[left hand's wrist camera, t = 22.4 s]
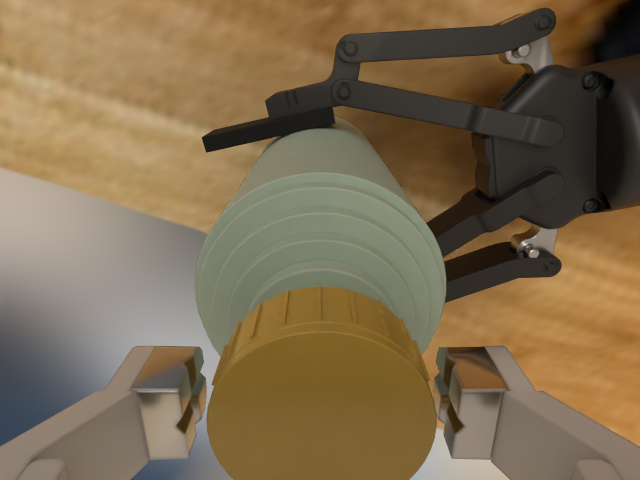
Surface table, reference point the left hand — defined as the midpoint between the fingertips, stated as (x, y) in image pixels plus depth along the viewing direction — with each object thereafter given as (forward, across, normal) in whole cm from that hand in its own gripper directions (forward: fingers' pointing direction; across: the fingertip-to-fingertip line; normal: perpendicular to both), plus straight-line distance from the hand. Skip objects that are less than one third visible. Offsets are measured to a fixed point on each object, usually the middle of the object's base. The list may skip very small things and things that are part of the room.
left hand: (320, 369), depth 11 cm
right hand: (+15, -5, -1) cm, 15 cm away
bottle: (+21, 0, 0) cm, 21 cm away
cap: (-2, 0, 0) cm, 2 cm away
